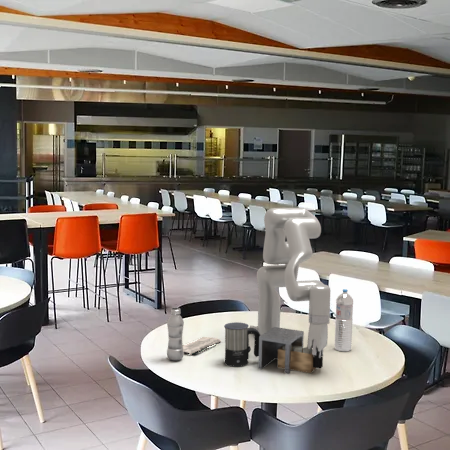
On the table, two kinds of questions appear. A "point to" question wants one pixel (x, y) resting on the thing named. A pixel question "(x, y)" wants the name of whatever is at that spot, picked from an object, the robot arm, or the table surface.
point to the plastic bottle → (175, 335)
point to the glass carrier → (297, 359)
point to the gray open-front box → (278, 345)
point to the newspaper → (200, 344)
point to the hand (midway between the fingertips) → (317, 367)
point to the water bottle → (343, 322)
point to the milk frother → (239, 344)
